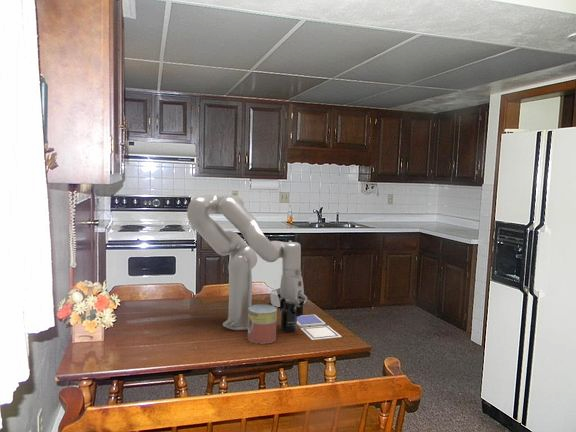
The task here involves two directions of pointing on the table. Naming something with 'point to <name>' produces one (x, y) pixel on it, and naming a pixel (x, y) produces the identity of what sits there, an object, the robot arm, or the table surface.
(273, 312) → the canned food
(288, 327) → the supplement bottle
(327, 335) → the marked card
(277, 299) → the ramekin
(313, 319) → the ink pad
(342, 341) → the table surface
